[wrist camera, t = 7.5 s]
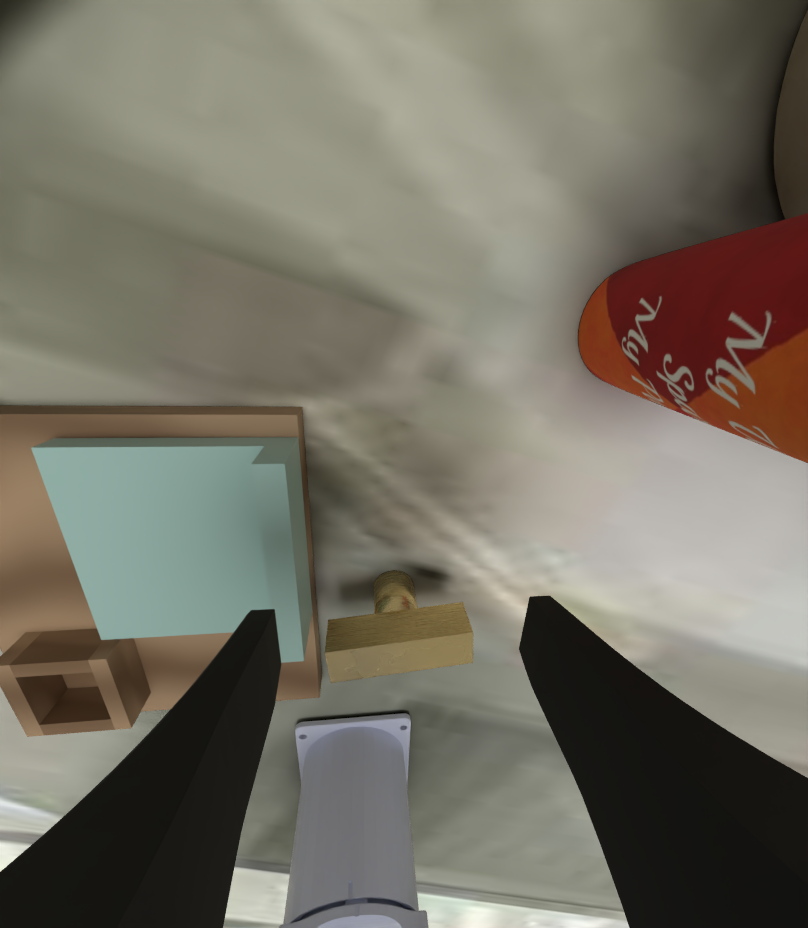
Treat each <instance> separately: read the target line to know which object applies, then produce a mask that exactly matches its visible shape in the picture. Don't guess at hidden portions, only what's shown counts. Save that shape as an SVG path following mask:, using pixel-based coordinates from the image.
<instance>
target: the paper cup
mask: <svg viewBox="0 0 808 928" xmlns="http://www.w3.org/2000/svg"><path fill="white" fill-rule="evenodd" d="M578 343H579V350H580V354H581V357H582V359H583V361H584V363H585V365H586V366H587V368H588V369H589V370H590V371H591V372H592V373H593V374H594V375H595V376H596V377H598V378H599V379H601V380H603V381H605V382H607V383H609V384H611V385H613V386H616V387H618V388H620V389H623V390H625V391H627V392H630V393H632V394H635V395H637V396H640V397H642V398H644V399H647V400H649V401H652V402H654V403H657V404H659V405H662V406H664V407H667V408H669V409H672V410H674V411H677V412H679V413H682V414H685V415H687V416H690V417H692V418H695V419H697V420H700V421H702V422H705V423H707V424H710V425H712V426H715V427H717V428H720V429H722V430H725V431H727V432H730V433H733V434H735V435H738V436H740V437H743V438H745V439H748V440H750V441H753V442H755V443H758V444H761V445H763V446H766V447H768V448H771V449H773V450H776V451H778V452H781V453H783V454H786V455H789V456H791V457H794V458H796V459H799V460H801V461H804V462H806V463H808V213H807V214H803V215H799V216H796V217H792V218H789V219H785V220H782V221H778V222H774V223H771V224H767V225H764V226H760V227H757V228H753V229H750V230H746V231H743V232H739V233H735V234H732V235H728V236H725V237H721V238H718V239H714V240H711V241H707V242H704V243H700V244H697V245H693V246H690V247H686V248H683V249H679V250H676V251H672V252H669V253H665V254H662V255H659V256H656V257H652V258H649V259H646V260H643V261H640V262H637V263H634V264H631V265H629V266H626V267H624V268H622V269H620V270H618V271H617V272H615V273H614V274H612V275H611V276H609V277H608V278H607V279H606V280H605V281H604V282H603V283H602V284H601V285H600V286H599V287H598V288H597V289H596V290H595V292H594V293H593V294H592V296H591V298H590V299H589V301H588V303H587V305H586V307H585V309H584V311H583V314H582V317H581V321H580V325H579V332H578Z"/></svg>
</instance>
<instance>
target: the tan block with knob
mask: <svg viewBox="0 0 808 928" xmlns="http://www.w3.org/2000/svg"><path fill="white" fill-rule="evenodd" d="M373 589H374V613H375V614H370V615H362V616H354V617H347V618H339V619H332V620H328V628H327V637H326V646H325V656H326V661H327V666H328V671H329V676H330V681H331V683H335V682H342V681H348V680H355V679H362V678H369V677H376V676H383V675H390V674H397V673H404V672H411V671H418V670H425V669H432V668H439V667H446V666H453V665H460V664H467V663H473V631H472V628H471V625H470V622H469V619H468V616H467V613H466V611H465V608H464V605H463V602H460V603H453V604H445V605H438V606H430V607H423V608H417V602H416V597H415V592H414V586H413V582H412V579H411V578H410V577H409V576H408V575H407V574H406V573H404V572H401V571H389V572H386V573H383V574H382V575H380V576H379V577H378V578H377V579H376V581H375V583H374V587H373Z"/></svg>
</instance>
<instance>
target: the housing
mask: <svg viewBox="0 0 808 928" xmlns="http://www.w3.org/2000/svg"><path fill="white" fill-rule="evenodd" d="M222 437H298V438H299V450H300V463H301V475H302V488H303V500H304V513H305V525H306V538H307V550H308V563H309V575H310V587H311V600H312V616H311V622H310V628H309V634H308V640H307V646H306V652H305V658H304V661H299V662H284V663H281V670H280V676H279V683H278V689H277V695H276V700H275V701H281V700H293V699H306V698H319V697H320V689H321V680H322V669H321V656H320V642H319V629H318V615H317V602H316V588H315V574H314V561H313V547H312V534H311V520H310V507H309V493H308V480H307V466H306V453H305V439H304V426H303V412H302V407H194V406H0V649H1V651H2V652H3V654H2V655H1V656H0V687H1V688H2V690H3V692H4V694H5V696H6V698H7V700H8V702H9V703H10V705H11V707H12V709H13V711H14V713H15V715H16V717H17V718H18V720H19V722H20V724H21V726H22V728H23V730H24V731H25V733H26V735H27V737H30V736H42V735H54V734H66V733H78V732H91V731H103V730H115V729H127V728H132V726H133V724H134V723H135V721H136V719H137V717H138V715H139V714H140V712H141V711H153V710H166V709H171V708H172V707H173V706H174V705H175V704H176V703H177V702H178V700H179V699H180V698H181V697H182V696H183V695H184V694H185V693H186V691H187V690H188V689H189V688H190V687H191V686H192V684H193V683H194V682H195V681H196V680H197V678H198V677H199V676H200V675H201V673H202V672H203V671H204V670H205V668H206V667H207V666H208V665H209V664H210V662H211V661H212V660H213V659H214V657H215V656H216V655H217V654H218V652H219V651H220V650H221V648H222V647H223V646H224V645H225V643H226V642H227V641H228V639H229V638H230V637H231V635H232V634H233V633H234V632H231V633H214V634H197V635H180V636H163V637H145V638H128V639H111V640H101V638H100V635H99V632H98V630H97V627H96V624H95V621H94V619H93V616H92V613H91V611H90V608H89V605H88V602H87V600H86V597H85V594H84V591H83V589H82V586H81V583H80V580H79V578H78V575H77V572H76V570H75V567H74V564H73V561H72V559H71V556H70V553H69V550H68V548H67V545H66V542H65V539H64V537H63V534H62V531H61V528H60V526H59V523H58V520H57V518H56V515H55V512H54V509H53V507H52V504H51V501H50V498H49V496H48V493H47V490H46V487H45V485H44V482H43V479H42V476H41V474H40V471H39V468H38V466H37V463H36V460H35V457H34V455H33V452H32V449H31V447H34V446H36V445H39V444H41V443H44V442H46V441H49V440H51V439H54V438H222Z"/></svg>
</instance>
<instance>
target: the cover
mask: <svg viewBox="0 0 808 928" xmlns="http://www.w3.org/2000/svg"><path fill="white" fill-rule="evenodd" d="M31 449H32V452H33V455H34V457H35V460H36V463H37V466H38V468H39V471H40V474H41V476H42V479H43V482H44V485H45V487H46V490H47V493H48V496H49V498H50V501H51V504H52V507H53V509H54V512H55V515H56V518H57V520H58V523H59V526H60V528H61V531H62V534H63V537H64V539H65V542H66V545H67V548H68V550H69V553H70V556H71V559H72V561H73V564H74V567H75V570H76V572H77V575H78V578H79V580H80V583H81V586H82V589H83V591H84V594H85V597H86V600H87V602H88V605H89V608H90V611H91V613H92V616H93V619H94V621H95V624H96V627H97V630H98V632H99V635H100V638H101V640H111V639H128V638H145V637H163V636H180V635H197V634H214V633H231V632H234V631H235V630H236V629H237V627H238V626H239V625H240V623H241V622H242V620H243V619H244V618H245V616H246V615H247V614H248V613H249V612H250V611H251V610H263V609H275V616H276V624H277V632H278V640H279V648H280V656H281V663H284V662H299V661H304V658H305V652H306V646H307V640H308V634H309V628H310V622H311V616H312V600H311V587H310V575H309V563H308V550H307V538H306V525H305V513H304V500H303V488H302V475H301V463H300V450H299V438H298V437H222V438H54V439H51V440H49V441H46V442H44V443H41V444H39V445H36V446H34V447H31Z"/></svg>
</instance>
